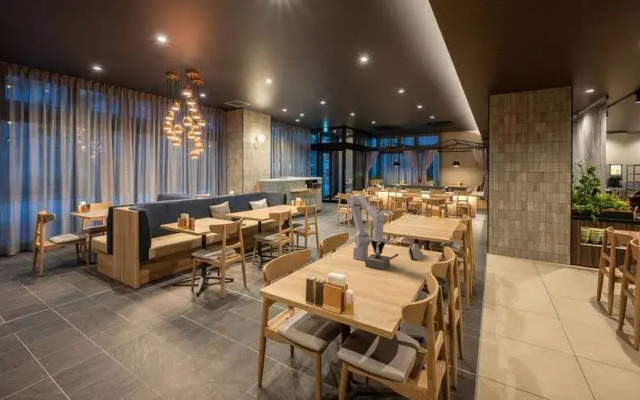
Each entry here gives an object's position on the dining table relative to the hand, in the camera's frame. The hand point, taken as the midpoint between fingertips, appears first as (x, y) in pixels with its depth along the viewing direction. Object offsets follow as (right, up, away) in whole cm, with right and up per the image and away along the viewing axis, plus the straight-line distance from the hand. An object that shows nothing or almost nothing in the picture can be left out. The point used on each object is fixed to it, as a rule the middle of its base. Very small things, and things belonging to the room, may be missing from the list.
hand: (378, 253), depth 196 cm
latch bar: (+8, -2, -5) cm, 10 cm away
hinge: (+29, -6, +19) cm, 35 cm away
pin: (0, -2, 0) cm, 2 cm away
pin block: (0, -8, +1) cm, 8 cm away
